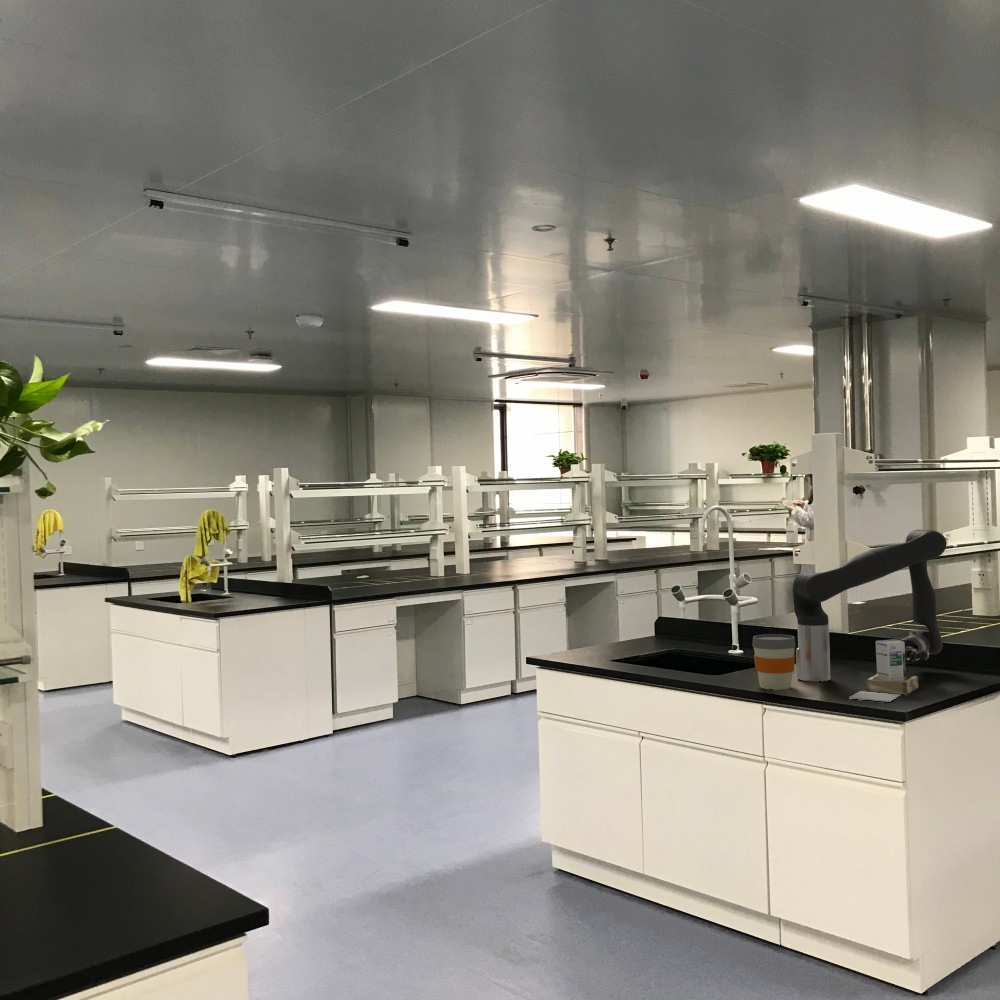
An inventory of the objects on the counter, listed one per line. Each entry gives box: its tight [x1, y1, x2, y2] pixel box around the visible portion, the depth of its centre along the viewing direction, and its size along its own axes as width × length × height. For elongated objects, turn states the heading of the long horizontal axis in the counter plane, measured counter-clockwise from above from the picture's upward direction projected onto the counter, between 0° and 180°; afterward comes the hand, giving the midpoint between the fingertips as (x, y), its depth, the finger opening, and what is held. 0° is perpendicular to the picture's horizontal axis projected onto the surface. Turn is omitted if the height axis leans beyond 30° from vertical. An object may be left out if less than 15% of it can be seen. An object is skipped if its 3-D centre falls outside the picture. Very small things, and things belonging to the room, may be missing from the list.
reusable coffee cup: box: [752, 633, 797, 691], centre depth 298 cm, size 13×12×15 cm
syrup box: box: [875, 638, 907, 682], centre depth 287 cm, size 6×6×14 cm
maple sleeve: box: [865, 674, 919, 695], centre depth 288 cm, size 12×11×4 cm
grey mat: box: [848, 690, 901, 703], centre depth 278 cm, size 11×10×1 cm
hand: (895, 656), depth 292 cm, fingers open, 8 cm apart
